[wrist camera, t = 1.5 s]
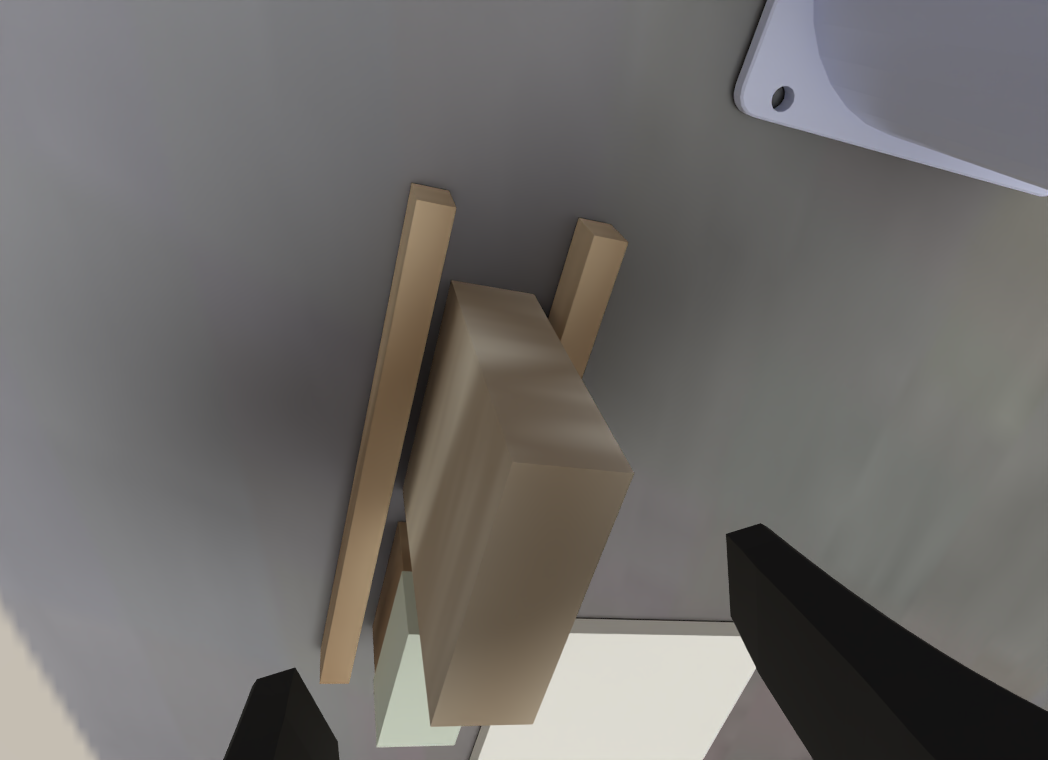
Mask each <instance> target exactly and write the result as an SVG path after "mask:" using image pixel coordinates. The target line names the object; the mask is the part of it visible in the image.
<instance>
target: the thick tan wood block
mask: <svg viewBox="0 0 1048 760" xmlns="http://www.w3.org/2000/svg"><path fill="white" fill-rule="evenodd" d="M633 475H634V472H633V470H632V468H631V467H630V465H629V463H628V461H627V460H626V458H625V456H624V454H623V452H622V451H621V449H620V447H619V445H618V443H617V442H616V440H615V438H614V436H613V435H612V433H611V431H610V429H609V427H608V426H607V424H606V422H605V420H604V418H603V417H602V415H601V413H600V411H599V410H598V408H597V406H596V404H595V402H594V401H593V399H592V397H591V395H590V393H589V392H588V390H587V388H586V386H585V384H584V383H583V381H582V379H581V377H580V376H579V374H578V372H577V370H576V368H575V367H574V365H573V363H572V361H571V359H570V358H569V356H568V354H567V352H566V351H565V349H564V347H563V345H562V343H561V342H560V340H559V338H558V336H557V334H556V333H555V331H554V329H553V327H552V326H551V324H550V322H549V320H548V318H547V317H546V315H545V313H544V311H543V309H542V308H541V306H540V304H539V302H538V301H537V299H536V297H535V295H534V294H530V293H524V292H518V291H512V290H506V289H500V288H495V287H489V286H483V285H477V284H471V283H465V282H459V281H453V280H451V284H450V288H449V292H448V296H447V301H446V305H445V309H444V314H443V318H442V322H441V326H440V331H439V335H438V339H437V344H436V348H435V352H434V356H433V361H432V365H431V369H430V374H429V378H428V382H427V386H426V391H425V395H424V399H423V404H422V408H421V412H420V416H419V421H418V425H417V429H416V434H415V438H414V442H413V446H412V451H411V455H410V459H409V464H408V468H407V472H406V476H405V481H404V485H403V489H402V490H403V498H404V507H405V515H406V524H407V532H408V541H409V549H410V558H411V566H412V575H413V583H414V592H415V600H416V609H417V617H418V626H419V634H420V642H421V651H422V659H423V668H424V676H425V685H426V693H427V702H428V710H429V719H430V727H446V726H488V725H530V724H533V723H534V720H535V718H536V715H537V713H538V710H539V708H540V705H541V703H542V701H543V698H544V696H545V693H546V691H547V688H548V686H549V683H550V681H551V678H552V676H553V673H554V671H555V668H556V666H557V663H558V661H559V658H560V656H561V654H562V651H563V649H564V646H565V644H566V641H567V639H568V636H569V634H570V631H571V629H572V626H573V624H574V621H575V619H576V616H577V614H578V611H579V609H580V607H581V604H582V602H583V599H584V597H585V594H586V592H587V589H588V587H589V584H590V582H591V579H592V577H593V574H594V572H595V569H596V567H597V564H598V562H599V560H600V557H601V555H602V552H603V550H604V547H605V545H606V542H607V540H608V537H609V535H610V532H611V530H612V527H613V525H614V522H615V520H616V517H617V515H618V513H619V510H620V508H621V505H622V503H623V500H624V498H625V495H626V493H627V490H628V488H629V485H630V483H631V480H632V478H633Z"/></svg>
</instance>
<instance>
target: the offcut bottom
mask: <svg viewBox="0 0 1048 760" xmlns="http://www.w3.org/2000/svg"><path fill="white" fill-rule="evenodd" d="M402 571H410V572H412V566H411V558H410V549H409V541H408V532H407V524H406V522H398V525H397V529H396V533H395V537H394V541H393V545H392V549H391V553H390V557H389V561H388V566H387V570H386V574H385V578H384V582H383V586H382V590H381V594H380V598H379V602H378V606H377V610H376V615H375V619H374V623H373V645H374V664H375V672H376V668H377V664H378V660H379V657H380V653H381V649H382V645H383V641H384V638H385V634H386V630H387V626H388V622H389V619H390V615H391V611H392V607H393V603H394V599H395V596H396V592H397V588H398V584H399V580H400V577H401V573H402Z"/></svg>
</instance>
